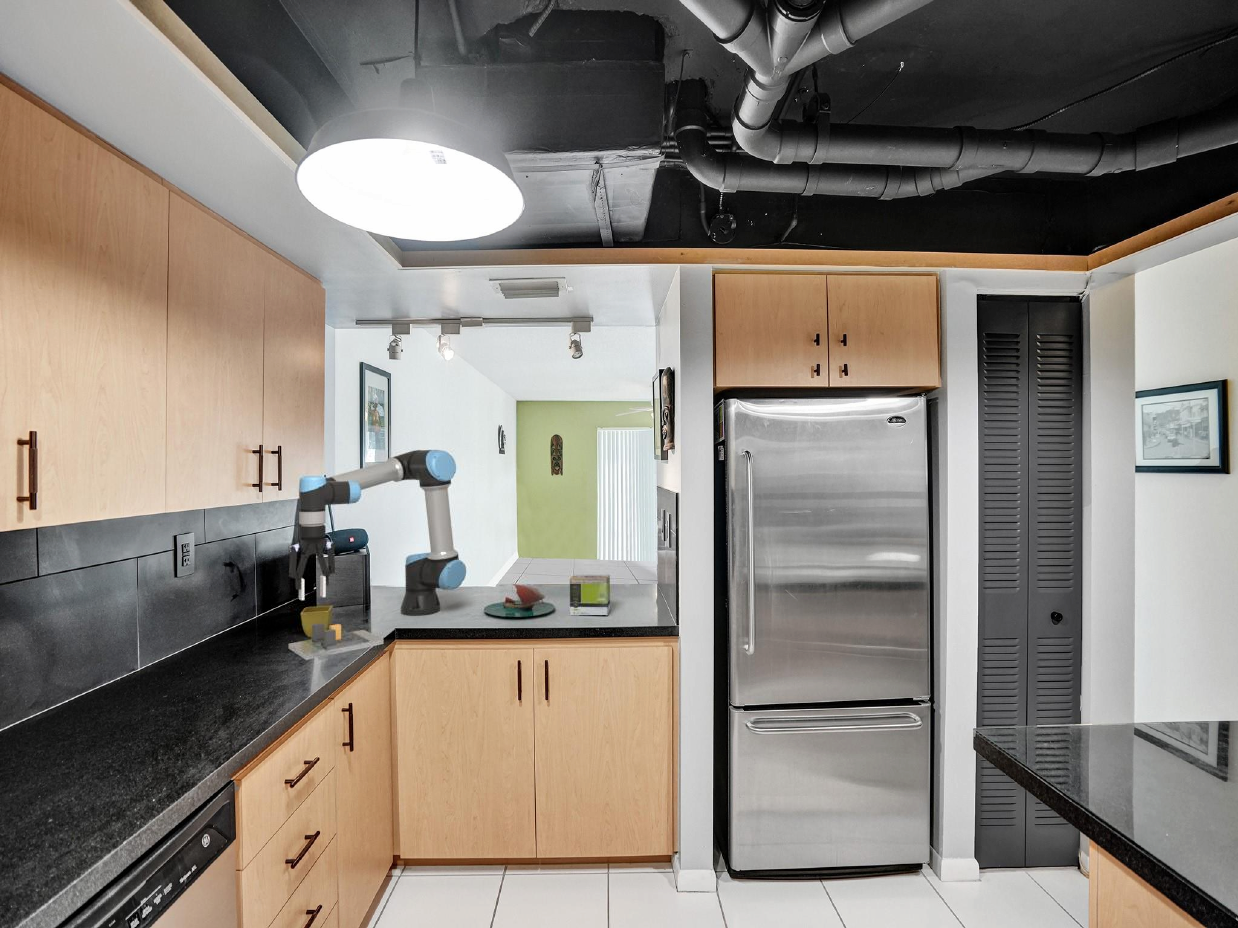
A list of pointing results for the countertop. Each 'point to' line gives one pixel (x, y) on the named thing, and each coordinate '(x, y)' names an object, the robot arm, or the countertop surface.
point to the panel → (346, 643)
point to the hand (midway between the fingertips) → (312, 597)
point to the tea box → (589, 594)
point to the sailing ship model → (521, 604)
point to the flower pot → (315, 618)
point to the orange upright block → (338, 630)
